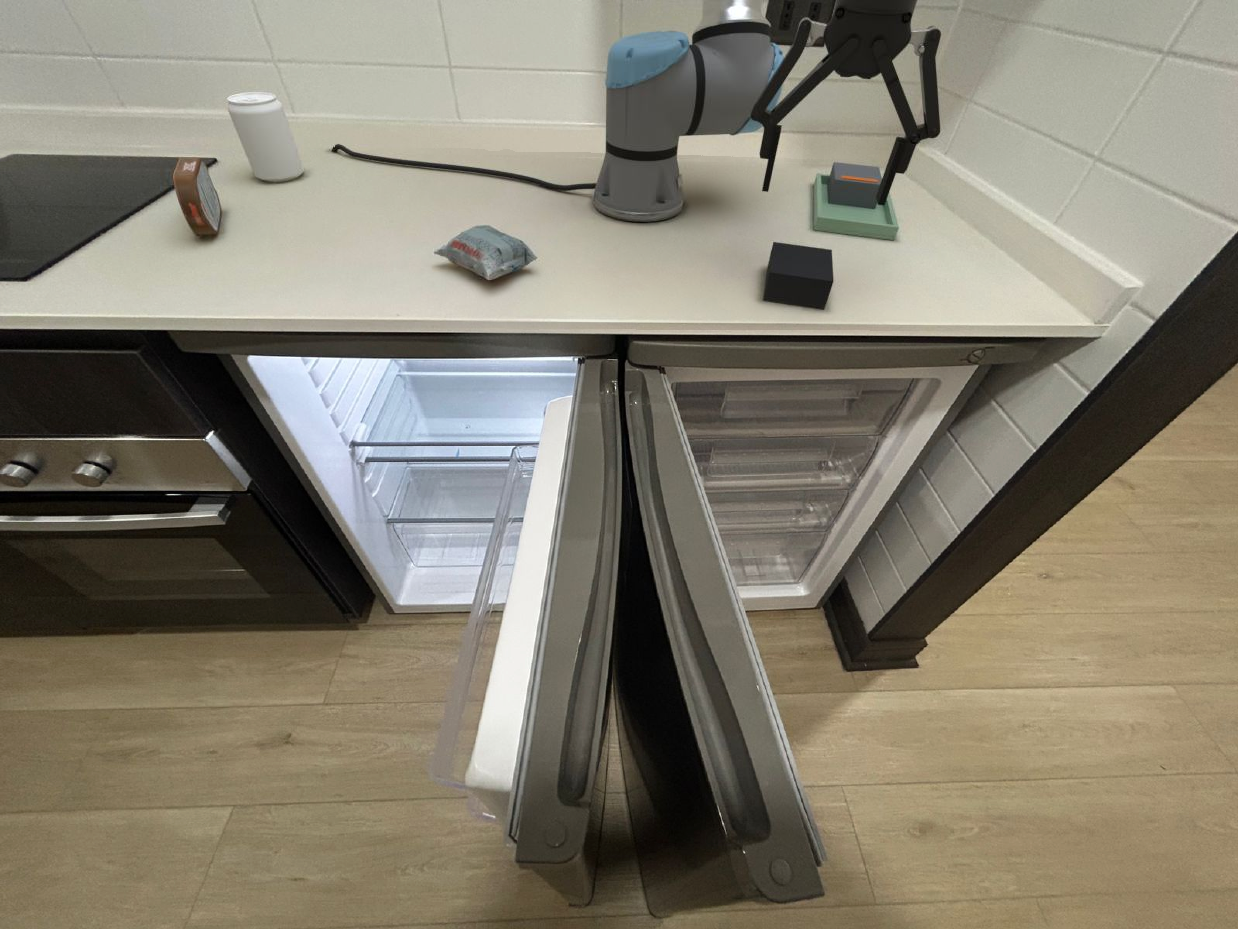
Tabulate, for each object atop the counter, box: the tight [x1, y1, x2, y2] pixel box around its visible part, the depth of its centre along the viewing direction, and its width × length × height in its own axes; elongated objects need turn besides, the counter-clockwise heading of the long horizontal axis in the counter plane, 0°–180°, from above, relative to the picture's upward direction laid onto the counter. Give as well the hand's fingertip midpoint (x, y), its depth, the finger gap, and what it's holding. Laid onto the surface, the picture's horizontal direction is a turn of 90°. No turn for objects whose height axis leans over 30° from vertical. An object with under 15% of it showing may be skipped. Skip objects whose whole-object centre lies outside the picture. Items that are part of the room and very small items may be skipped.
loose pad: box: [762, 241, 835, 310], centre depth 75 cm, size 8×10×4 cm
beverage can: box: [226, 91, 305, 183], centre depth 95 cm, size 8×8×12 cm
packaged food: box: [433, 224, 538, 281], centre depth 75 cm, size 9×12×5 cm
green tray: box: [813, 172, 900, 241], centre depth 96 cm, size 22×13×2 cm, turn 166°
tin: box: [172, 156, 222, 237], centre depth 81 cm, size 15×3×8 cm, turn 23°
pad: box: [827, 161, 883, 209], centre depth 98 cm, size 8×10×4 cm
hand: (821, 194), depth 67 cm, fingers open, 13 cm apart
